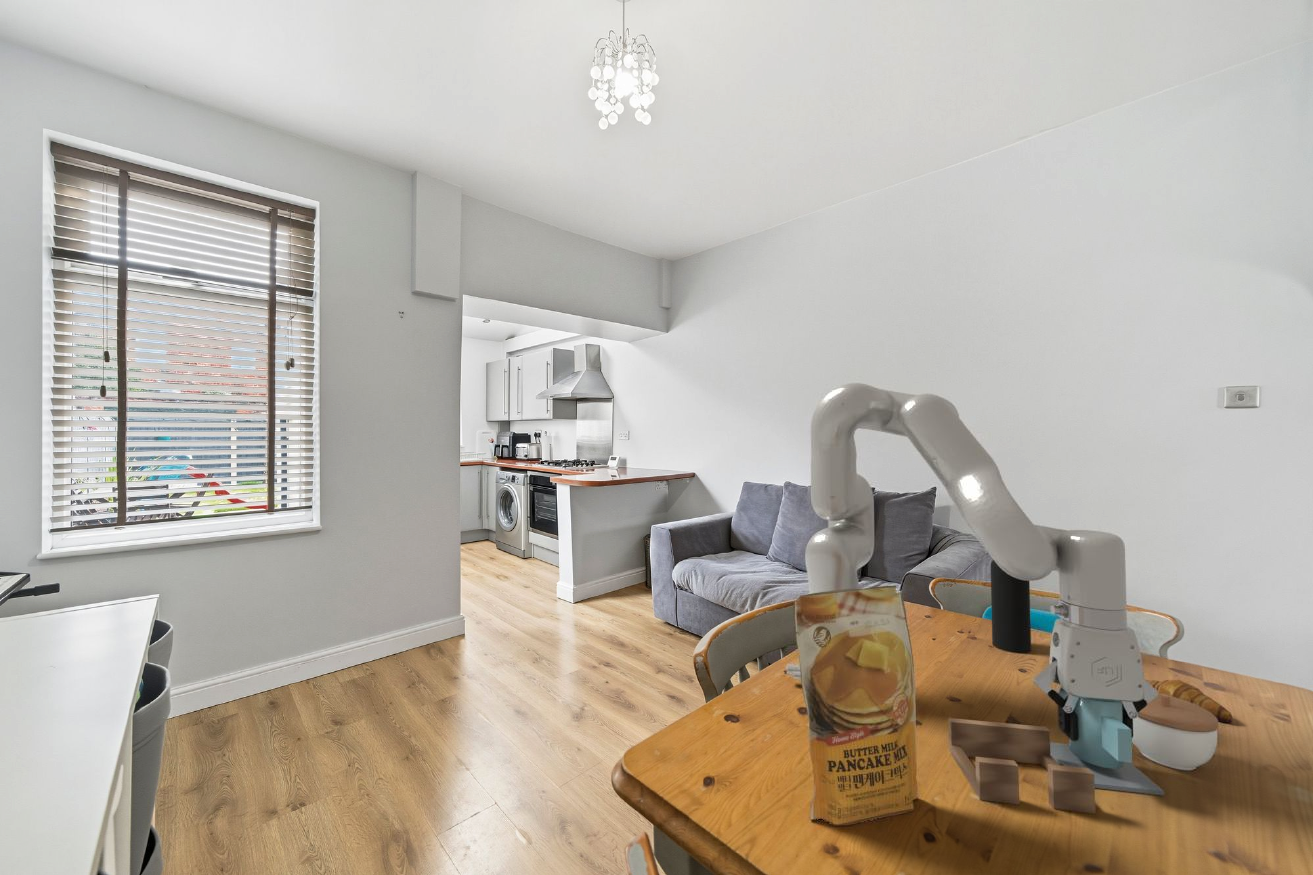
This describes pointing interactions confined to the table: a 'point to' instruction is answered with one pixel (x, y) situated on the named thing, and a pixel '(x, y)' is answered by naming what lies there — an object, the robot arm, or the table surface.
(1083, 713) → the jug
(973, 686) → the table surface
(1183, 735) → the lidded jar
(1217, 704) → the croissant
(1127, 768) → the coaster
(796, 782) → the table surface
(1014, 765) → the cradle
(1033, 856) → the table surface
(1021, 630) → the wine bottle
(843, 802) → the pancake mix bag
